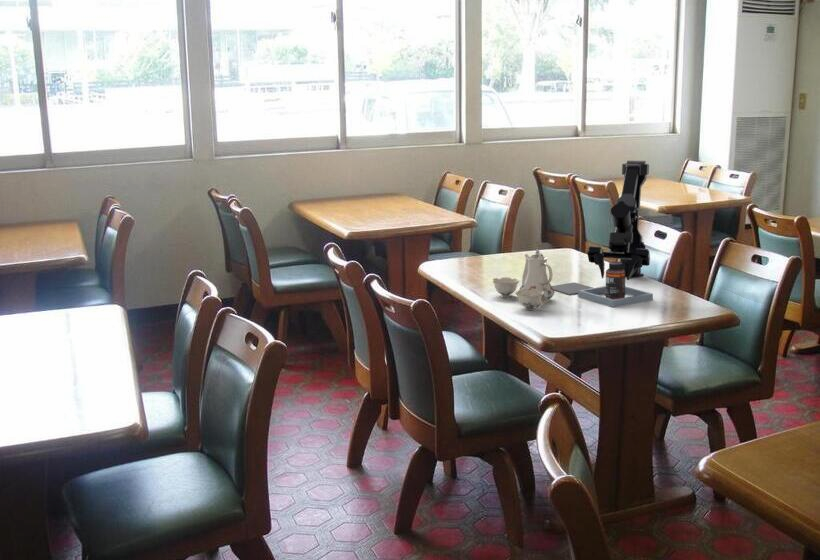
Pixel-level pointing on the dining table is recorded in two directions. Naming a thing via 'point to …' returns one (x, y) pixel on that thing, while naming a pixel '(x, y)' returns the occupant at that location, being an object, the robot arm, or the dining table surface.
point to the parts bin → (635, 298)
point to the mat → (570, 288)
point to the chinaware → (529, 283)
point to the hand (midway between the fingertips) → (614, 278)
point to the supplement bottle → (615, 281)
